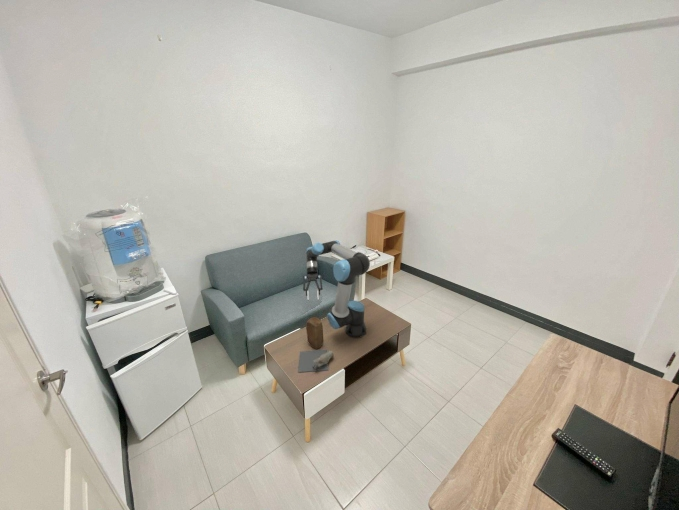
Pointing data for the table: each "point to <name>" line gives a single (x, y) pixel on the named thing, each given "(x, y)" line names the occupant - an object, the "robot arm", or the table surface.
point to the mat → (311, 361)
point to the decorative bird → (323, 359)
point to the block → (314, 332)
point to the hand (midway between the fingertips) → (313, 300)
